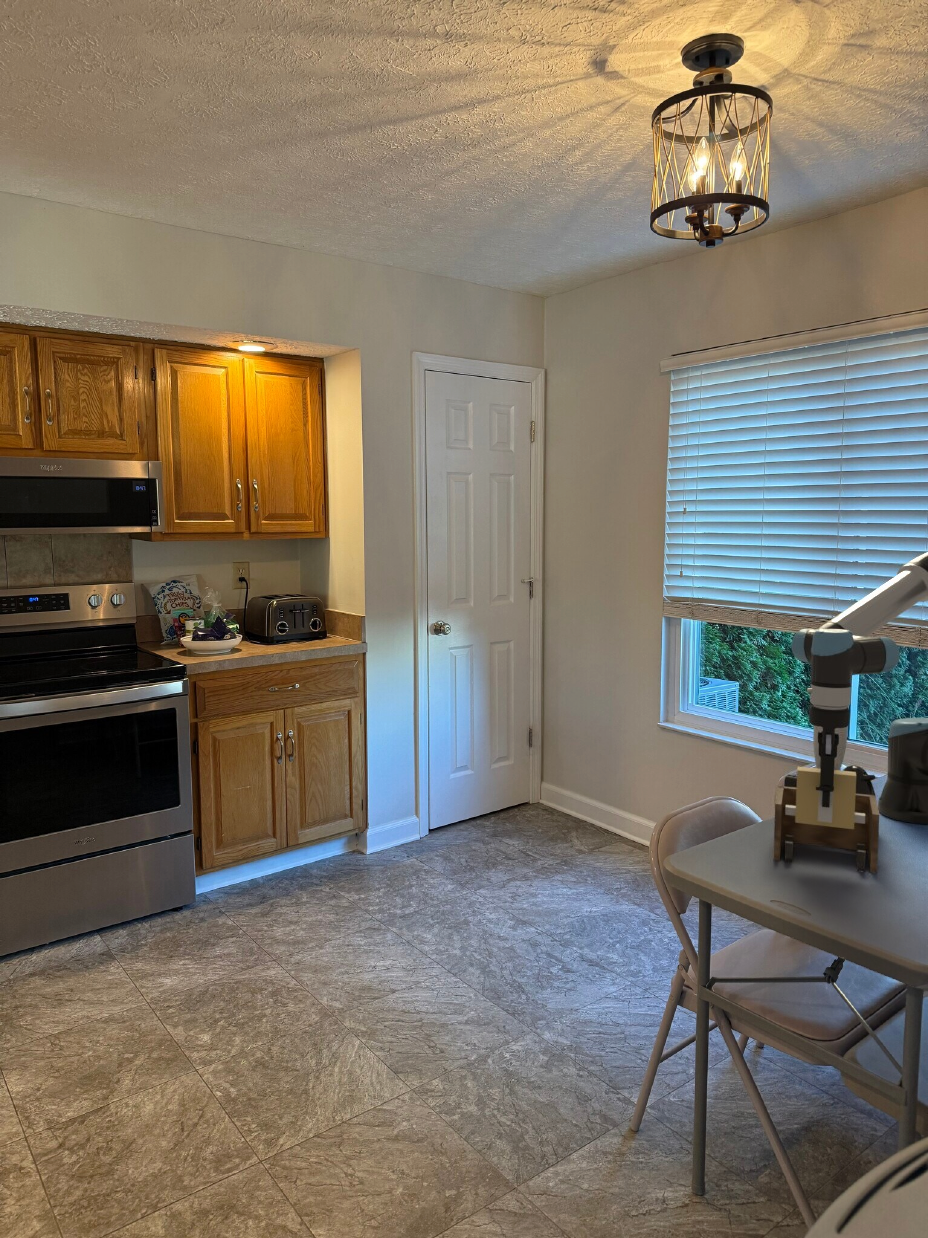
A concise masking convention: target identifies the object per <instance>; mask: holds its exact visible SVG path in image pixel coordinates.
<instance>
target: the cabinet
mask: <svg viewBox="0 0 928 1238" xmlns="http://www.w3.org/2000/svg"><path fill="white" fill-rule="evenodd" d="M796 791H797V788H795V787H784V785H783V786H782V785H778V786H777V789H776V795H775V798H776V799H775V802H774V830H773V831H774V832H773V834H774V835H773V861H781V851H782V843H783V842H784V843H785V844H784V845H785V847H784V862H787V863H793V855H794V851H793V850H794V843H796V844H804V845H810V846H811V845H813V846H820V847H821V846H822V847H828V848H837V849H844V850H845V849H846V850H851V851H856V855H855V858H856V859H855V865H856V866H855V867H856V871H857V872H865V871H866V853H867V861H868V866H869V873H872V874H878V858H879V857H878V856H879V855H878V854H879V853H878V852H879V833H880V832H879V831H880V830H879V829H880V812H879V811H878V801H876V800H877V797H876V796H877V795H876V794H875V795H876V796H875V795H865V794H855V813H864V814H865V824H863V823H854V829H847V828H838V827H830V826H821V825H813V824H804V823H796V822H795V818H796V816H793V815H785V809H786V805H792V806H796Z"/></svg>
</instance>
